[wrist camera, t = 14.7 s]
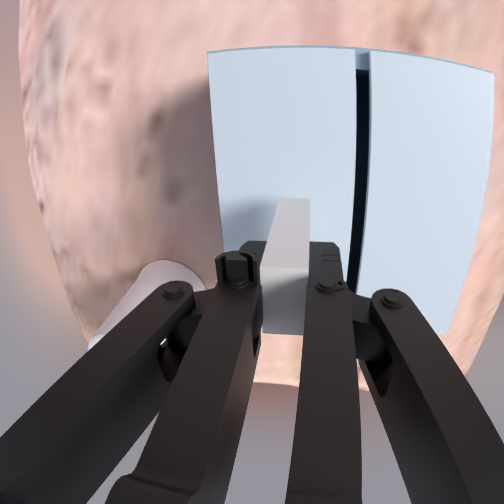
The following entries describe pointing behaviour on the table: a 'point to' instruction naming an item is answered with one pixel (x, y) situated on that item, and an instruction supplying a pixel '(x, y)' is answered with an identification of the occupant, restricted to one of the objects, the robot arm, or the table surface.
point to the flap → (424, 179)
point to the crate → (361, 148)
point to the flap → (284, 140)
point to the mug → (146, 291)
